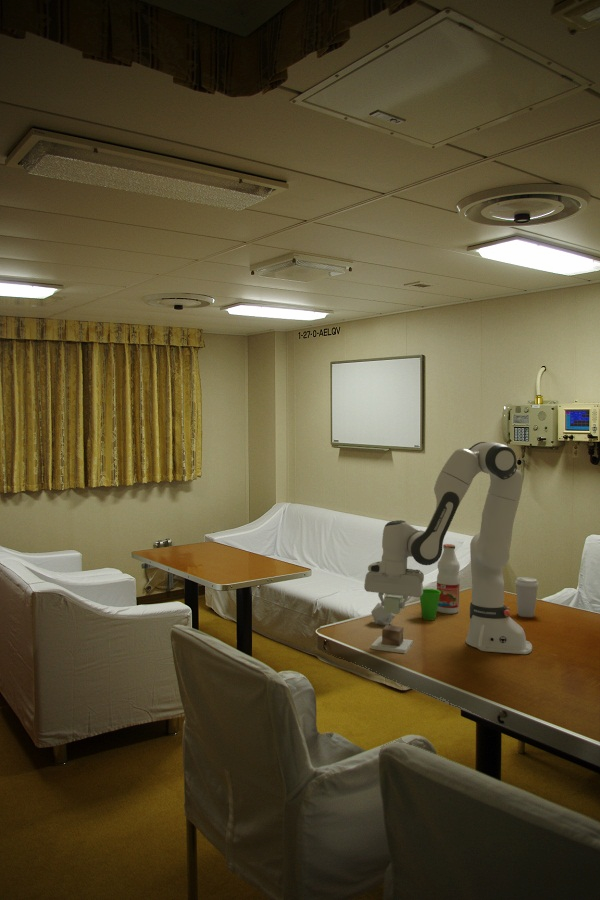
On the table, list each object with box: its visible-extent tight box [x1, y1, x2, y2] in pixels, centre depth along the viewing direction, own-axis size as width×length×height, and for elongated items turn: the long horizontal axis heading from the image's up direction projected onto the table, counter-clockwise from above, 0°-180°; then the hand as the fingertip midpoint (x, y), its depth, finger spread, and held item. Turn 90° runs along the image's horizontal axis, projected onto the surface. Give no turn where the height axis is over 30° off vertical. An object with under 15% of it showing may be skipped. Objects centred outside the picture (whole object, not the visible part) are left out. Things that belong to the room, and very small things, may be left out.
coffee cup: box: [514, 576, 540, 618], centre depth 280 cm, size 10×10×15 cm
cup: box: [419, 588, 441, 621], centre depth 271 cm, size 9×9×11 cm
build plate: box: [370, 635, 414, 654], centre depth 234 cm, size 12×12×1 cm
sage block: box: [383, 594, 403, 615], centre depth 234 cm, size 5×5×5 cm
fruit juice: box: [436, 543, 461, 615], centre depth 283 cm, size 9×9×28 cm
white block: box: [370, 602, 396, 626], centre depth 262 cm, size 8×9×10 cm
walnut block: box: [381, 624, 404, 646], centre depth 234 cm, size 6×6×5 cm
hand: (392, 606), depth 234 cm, fingers closed on sage block, 5 cm apart
